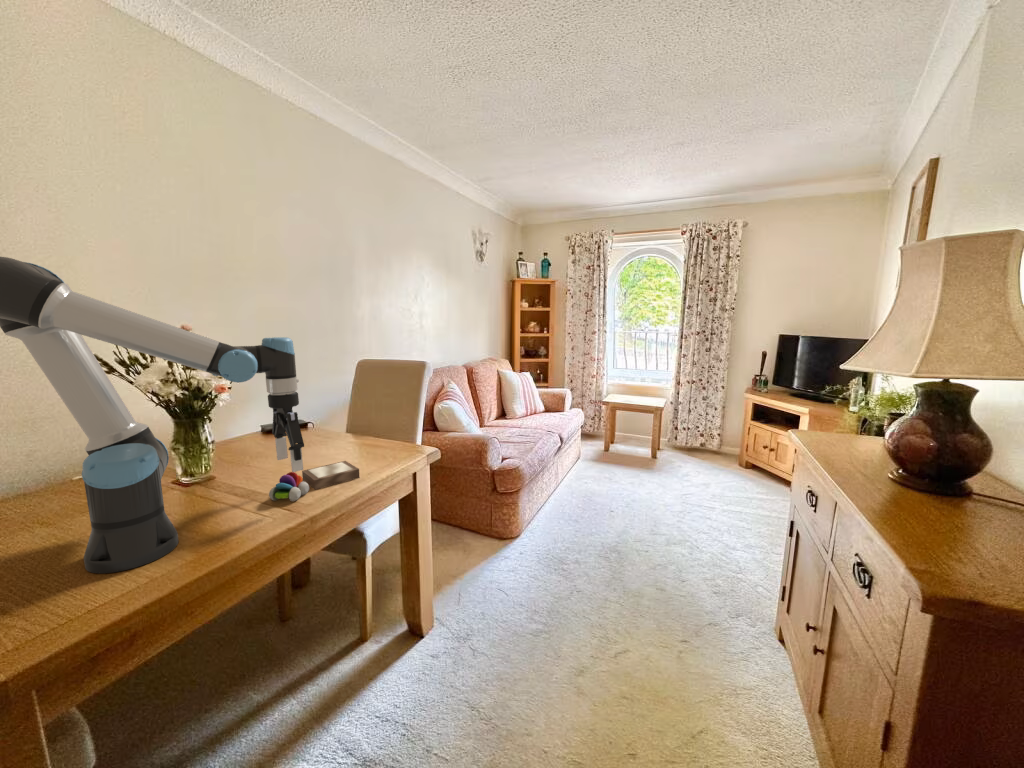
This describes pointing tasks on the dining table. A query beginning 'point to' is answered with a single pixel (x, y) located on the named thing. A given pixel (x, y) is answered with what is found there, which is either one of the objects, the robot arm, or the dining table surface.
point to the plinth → (330, 474)
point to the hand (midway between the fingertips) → (289, 464)
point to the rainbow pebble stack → (289, 487)
